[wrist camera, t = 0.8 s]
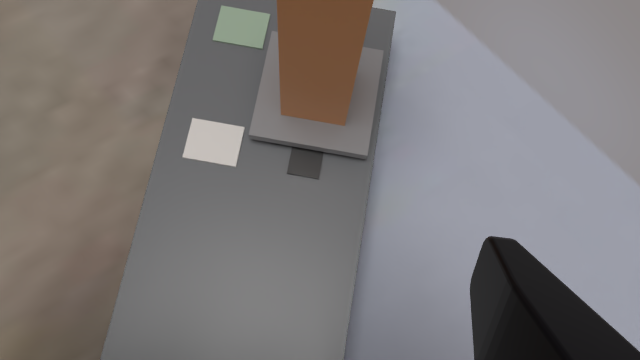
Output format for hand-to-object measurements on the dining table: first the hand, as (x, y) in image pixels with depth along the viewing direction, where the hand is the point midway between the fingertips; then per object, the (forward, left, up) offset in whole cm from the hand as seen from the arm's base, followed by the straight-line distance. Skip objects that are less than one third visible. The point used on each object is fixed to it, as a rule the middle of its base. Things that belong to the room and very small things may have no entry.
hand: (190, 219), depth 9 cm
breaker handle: (+7, -4, -12) cm, 14 cm away
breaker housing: (+2, 0, -15) cm, 15 cm away
